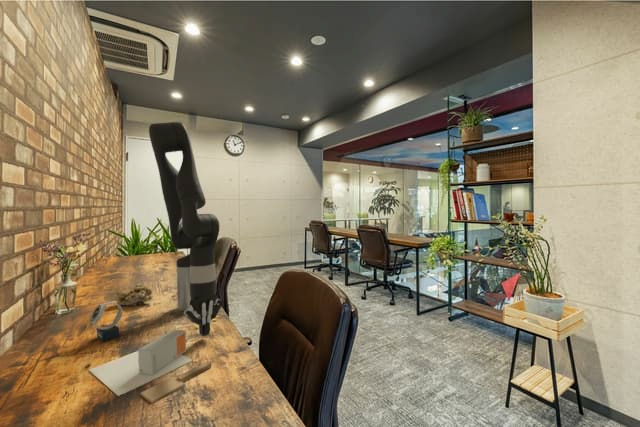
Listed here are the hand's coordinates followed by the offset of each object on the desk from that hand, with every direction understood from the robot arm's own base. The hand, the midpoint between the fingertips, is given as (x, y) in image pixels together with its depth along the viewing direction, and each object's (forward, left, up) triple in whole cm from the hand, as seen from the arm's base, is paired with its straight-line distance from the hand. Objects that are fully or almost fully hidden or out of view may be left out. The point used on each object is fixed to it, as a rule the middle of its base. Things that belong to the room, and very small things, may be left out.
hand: (204, 334), depth 88 cm
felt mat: (+18, 0, -1) cm, 18 cm away
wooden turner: (+16, +15, -1) cm, 22 cm away
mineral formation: (-3, -55, -2) cm, 55 cm away
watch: (+16, -27, -2) cm, 32 cm away
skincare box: (+8, +1, +2) cm, 8 cm away
